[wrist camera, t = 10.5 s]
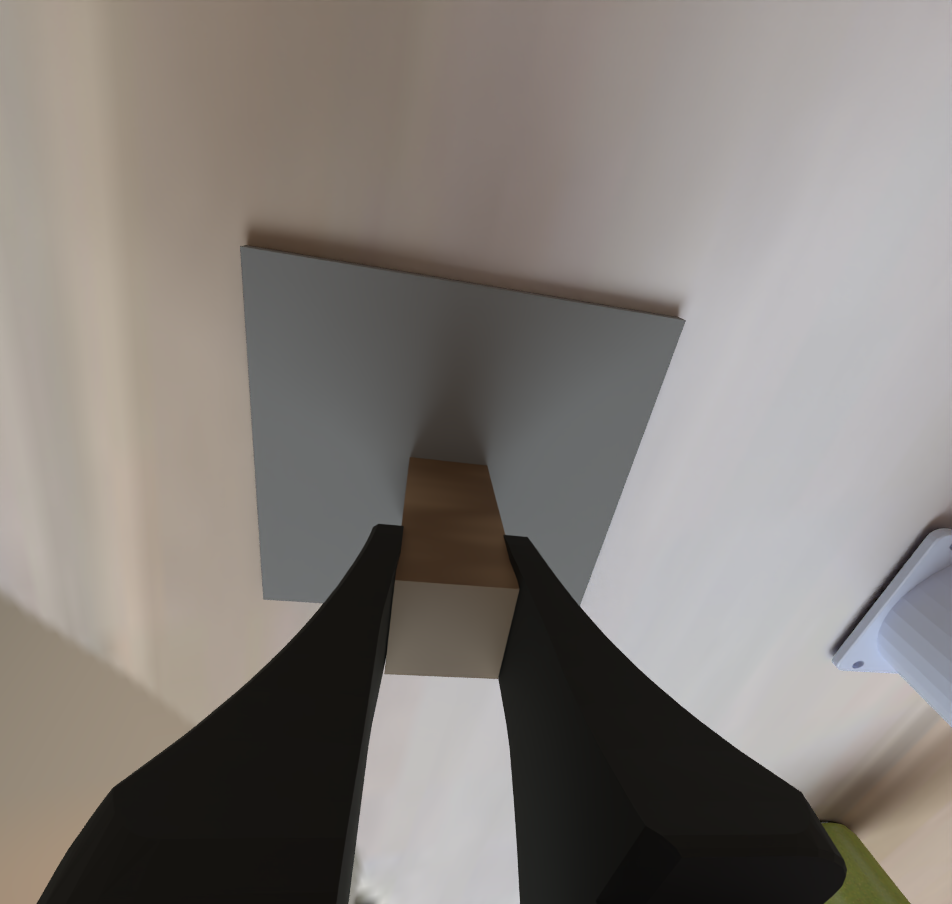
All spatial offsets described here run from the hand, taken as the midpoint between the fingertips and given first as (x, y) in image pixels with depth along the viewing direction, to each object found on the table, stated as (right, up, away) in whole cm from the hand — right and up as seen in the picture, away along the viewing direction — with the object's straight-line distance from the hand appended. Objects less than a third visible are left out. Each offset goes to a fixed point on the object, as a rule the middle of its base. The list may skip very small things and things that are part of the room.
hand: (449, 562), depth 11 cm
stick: (0, +1, +4) cm, 4 cm away
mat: (0, +2, +4) cm, 4 cm away
